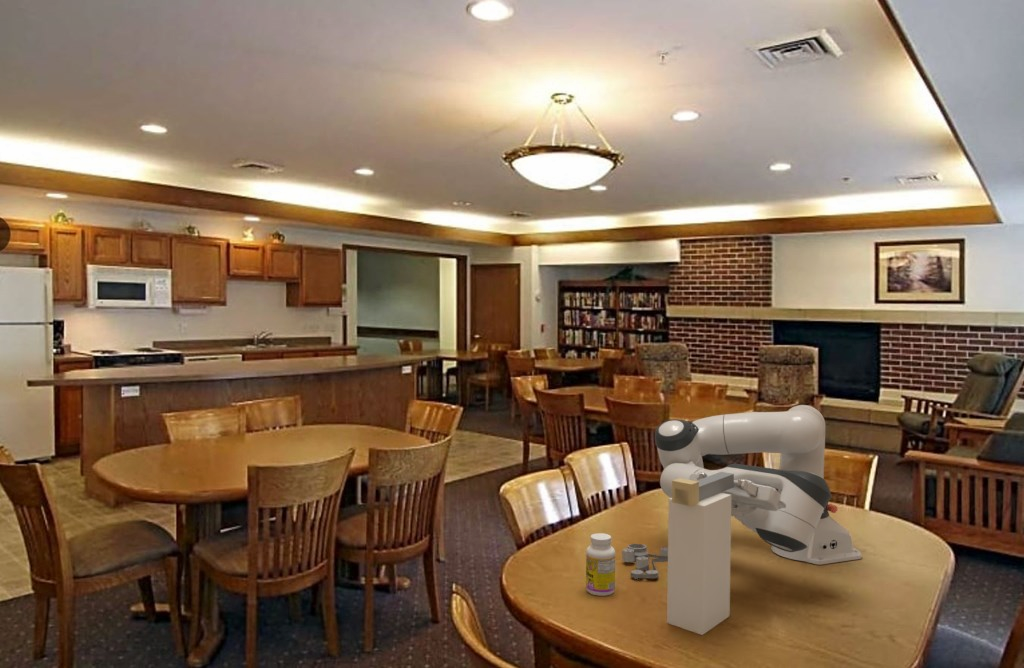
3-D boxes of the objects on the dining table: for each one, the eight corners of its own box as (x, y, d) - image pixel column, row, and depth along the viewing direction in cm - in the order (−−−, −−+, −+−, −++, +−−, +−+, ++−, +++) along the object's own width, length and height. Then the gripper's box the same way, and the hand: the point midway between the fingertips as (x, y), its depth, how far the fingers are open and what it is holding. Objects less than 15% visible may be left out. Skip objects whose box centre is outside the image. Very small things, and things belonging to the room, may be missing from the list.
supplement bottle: (583, 585, 166) (583, 531, 165) (611, 585, 166) (611, 531, 166) (588, 597, 159) (589, 541, 159) (617, 596, 160) (618, 540, 159)
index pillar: (695, 604, 156) (697, 487, 155) (730, 615, 150) (732, 494, 149) (667, 622, 147) (668, 498, 146) (702, 635, 141) (704, 506, 140)
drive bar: (718, 484, 158) (718, 464, 158) (736, 488, 155) (736, 468, 155) (671, 502, 143) (672, 480, 143) (691, 506, 140) (691, 484, 140)
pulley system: (597, 573, 177) (648, 586, 166) (596, 554, 177) (648, 565, 167) (655, 550, 197) (705, 560, 186) (655, 533, 197) (704, 542, 187)
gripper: (785, 522, 155) (763, 502, 146) (700, 504, 168) (675, 484, 159) (791, 495, 157) (770, 473, 148) (706, 479, 171) (682, 458, 161)
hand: (720, 479), depth 154 cm, fingers open, 8 cm apart
